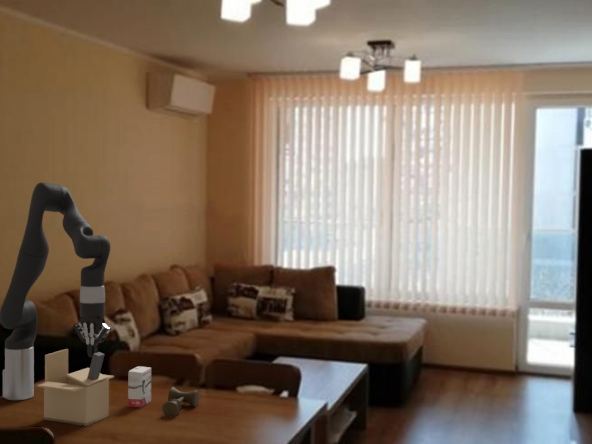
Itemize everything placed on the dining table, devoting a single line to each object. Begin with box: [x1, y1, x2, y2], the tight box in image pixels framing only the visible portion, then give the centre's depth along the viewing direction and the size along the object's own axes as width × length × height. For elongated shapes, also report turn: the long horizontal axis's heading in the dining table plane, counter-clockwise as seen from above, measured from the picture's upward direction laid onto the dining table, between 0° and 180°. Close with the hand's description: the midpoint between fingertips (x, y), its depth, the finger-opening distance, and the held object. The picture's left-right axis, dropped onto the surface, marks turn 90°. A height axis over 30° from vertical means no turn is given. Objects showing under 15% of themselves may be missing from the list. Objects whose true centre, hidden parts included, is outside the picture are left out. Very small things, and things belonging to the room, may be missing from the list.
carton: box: [36, 348, 115, 427], centre depth 227 cm, size 16×19×20 cm
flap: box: [67, 351, 108, 386], centre depth 225 cm, size 8×10×9 cm
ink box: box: [127, 365, 152, 408], centre depth 243 cm, size 9×5×12 cm, turn 168°
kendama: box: [161, 386, 200, 418], centre depth 239 cm, size 6×10×20 cm
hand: (92, 356), depth 224 cm, fingers closed
